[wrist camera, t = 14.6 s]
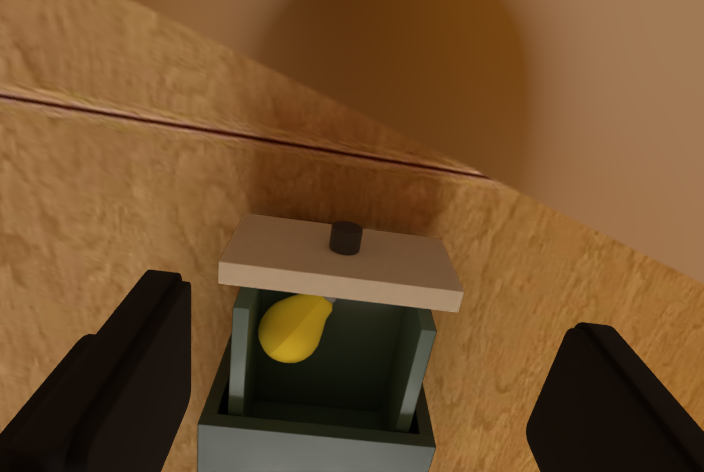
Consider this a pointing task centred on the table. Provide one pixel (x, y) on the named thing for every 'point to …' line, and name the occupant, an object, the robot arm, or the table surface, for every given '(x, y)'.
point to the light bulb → (294, 326)
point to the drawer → (336, 320)
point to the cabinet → (304, 440)
